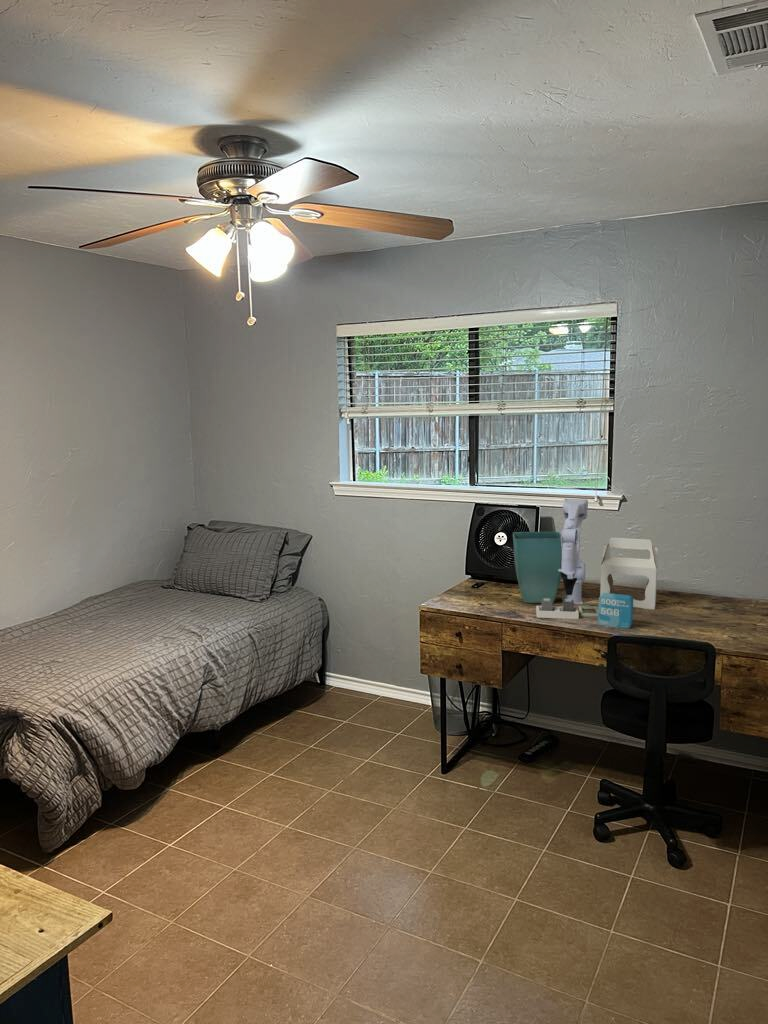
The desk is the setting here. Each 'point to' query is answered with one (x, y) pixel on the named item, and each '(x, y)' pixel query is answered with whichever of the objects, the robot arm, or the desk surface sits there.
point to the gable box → (631, 570)
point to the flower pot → (537, 564)
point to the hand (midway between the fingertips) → (568, 592)
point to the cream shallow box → (557, 613)
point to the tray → (588, 608)
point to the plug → (568, 605)
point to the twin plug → (546, 604)
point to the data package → (615, 610)
